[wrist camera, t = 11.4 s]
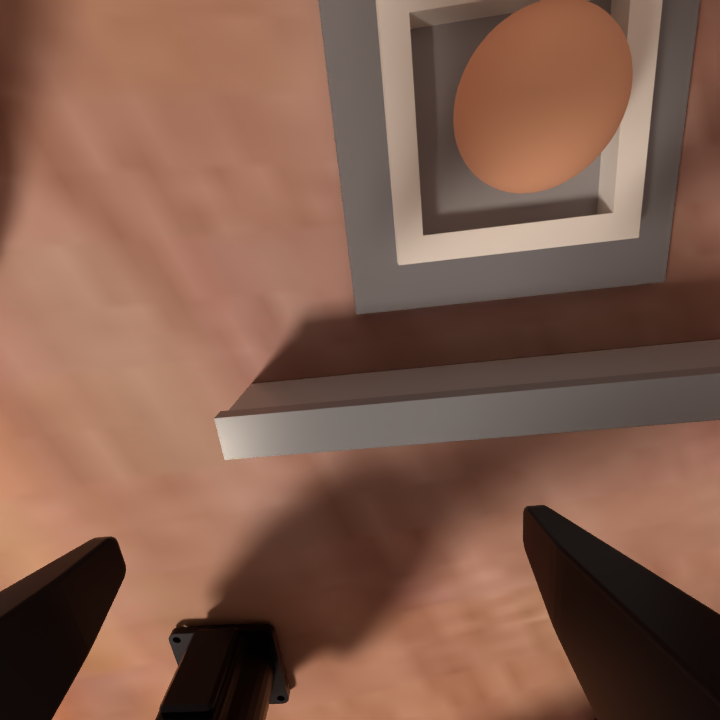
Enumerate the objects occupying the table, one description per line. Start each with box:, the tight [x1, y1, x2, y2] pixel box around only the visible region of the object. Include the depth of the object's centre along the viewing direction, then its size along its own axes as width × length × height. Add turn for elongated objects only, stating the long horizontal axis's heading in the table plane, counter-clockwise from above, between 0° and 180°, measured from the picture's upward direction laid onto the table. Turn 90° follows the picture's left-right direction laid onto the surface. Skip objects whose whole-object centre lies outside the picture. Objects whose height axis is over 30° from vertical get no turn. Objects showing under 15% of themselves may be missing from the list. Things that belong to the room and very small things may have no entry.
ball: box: [453, 0, 633, 194], centre depth 12 cm, size 5×5×5 cm
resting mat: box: [318, 0, 700, 315], centre depth 14 cm, size 13×13×2 cm
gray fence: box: [214, 339, 720, 460], centre depth 16 cm, size 2×24×4 cm, turn 97°
